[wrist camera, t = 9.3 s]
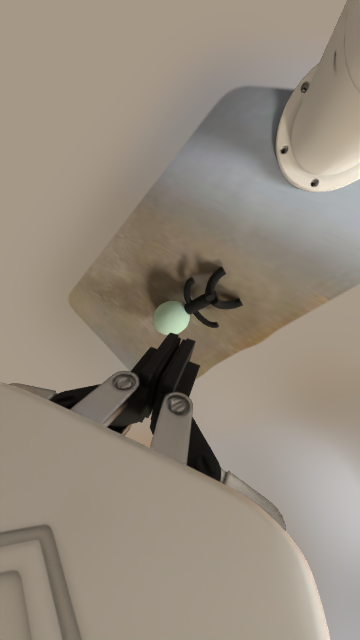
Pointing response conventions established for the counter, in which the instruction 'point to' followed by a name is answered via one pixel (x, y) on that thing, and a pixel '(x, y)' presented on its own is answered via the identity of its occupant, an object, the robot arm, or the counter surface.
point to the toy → (191, 307)
